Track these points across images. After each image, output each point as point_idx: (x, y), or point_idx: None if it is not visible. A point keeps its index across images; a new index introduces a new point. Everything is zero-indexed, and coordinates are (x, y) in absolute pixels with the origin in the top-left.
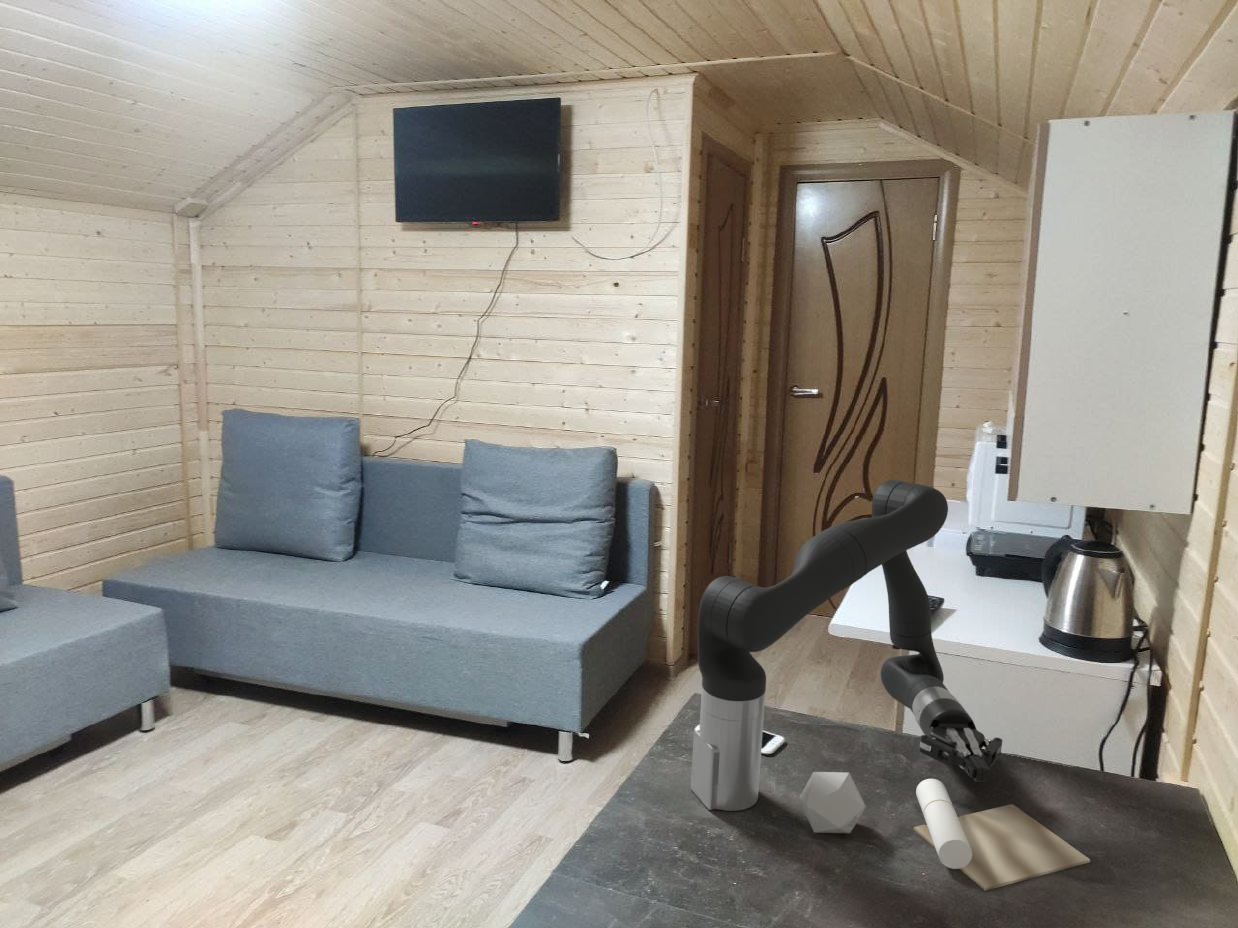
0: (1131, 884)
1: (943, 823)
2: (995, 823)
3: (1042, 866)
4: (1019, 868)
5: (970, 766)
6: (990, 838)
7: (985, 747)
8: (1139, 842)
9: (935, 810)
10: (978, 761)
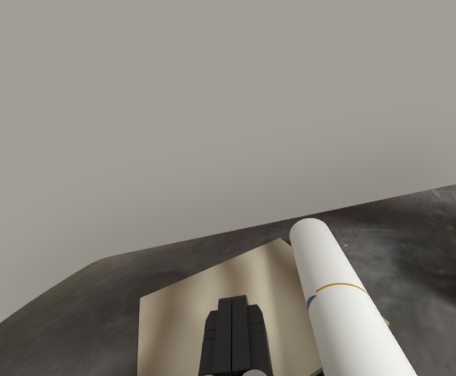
0: (131, 277)
1: (326, 238)
2: None
3: (206, 275)
4: (234, 267)
5: (259, 317)
6: None
7: None
8: (23, 361)
9: (344, 265)
10: (228, 331)
